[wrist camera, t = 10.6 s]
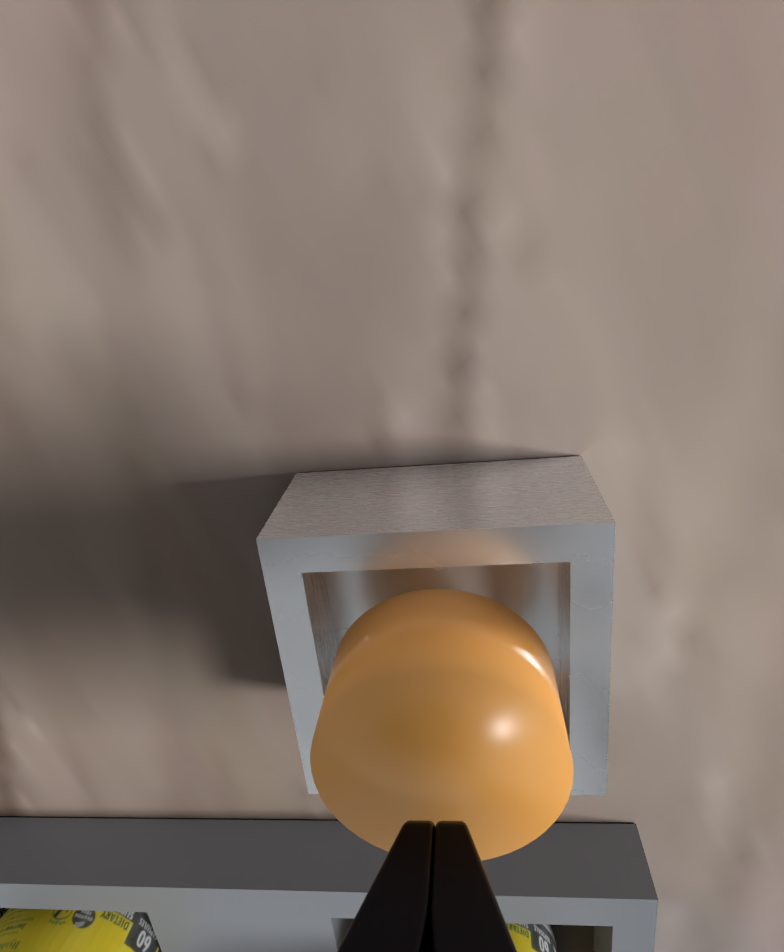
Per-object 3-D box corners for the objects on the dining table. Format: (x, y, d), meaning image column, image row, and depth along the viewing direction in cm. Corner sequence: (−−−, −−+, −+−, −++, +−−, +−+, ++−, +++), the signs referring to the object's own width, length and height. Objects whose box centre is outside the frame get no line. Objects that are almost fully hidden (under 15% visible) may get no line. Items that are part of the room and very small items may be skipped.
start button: (553, 585, 10) (574, 663, 9) (554, 765, 12) (573, 865, 10) (318, 593, 11) (291, 669, 9) (347, 765, 12) (329, 860, 11)
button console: (581, 455, 13) (615, 522, 10) (578, 689, 15) (605, 795, 12) (296, 473, 14) (255, 539, 11) (334, 693, 16) (308, 793, 13)
